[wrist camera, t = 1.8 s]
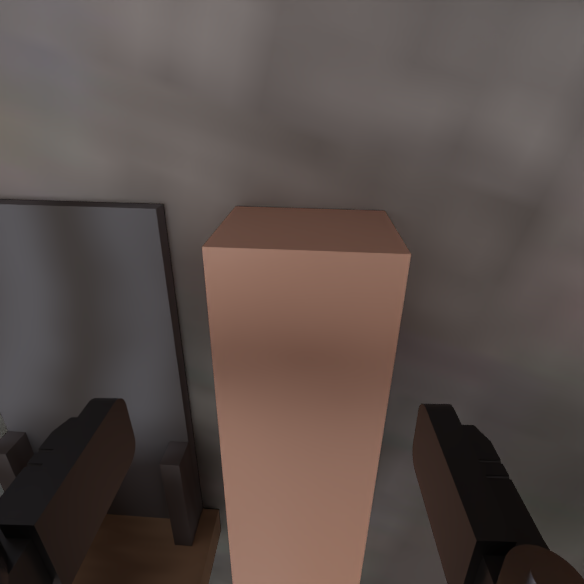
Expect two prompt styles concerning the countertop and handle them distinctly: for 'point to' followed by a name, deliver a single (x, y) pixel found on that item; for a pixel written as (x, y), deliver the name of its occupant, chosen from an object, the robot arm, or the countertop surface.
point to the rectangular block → (302, 383)
